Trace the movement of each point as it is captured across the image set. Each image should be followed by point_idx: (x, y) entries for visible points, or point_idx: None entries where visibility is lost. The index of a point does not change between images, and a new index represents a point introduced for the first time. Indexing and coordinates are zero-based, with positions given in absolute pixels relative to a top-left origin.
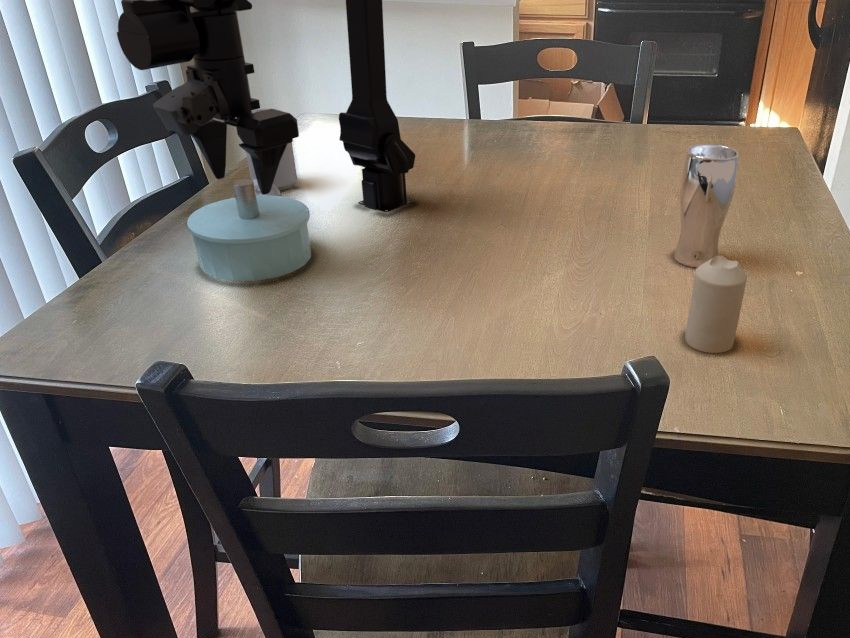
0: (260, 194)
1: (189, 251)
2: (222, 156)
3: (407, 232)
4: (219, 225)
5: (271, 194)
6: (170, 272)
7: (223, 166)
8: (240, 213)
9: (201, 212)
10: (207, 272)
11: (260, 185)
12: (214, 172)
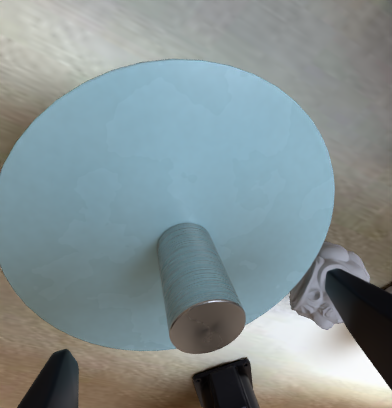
0: (309, 294)
1: (307, 97)
2: (384, 365)
3: (121, 380)
4: (168, 155)
5: (296, 307)
6: (245, 3)
7: (350, 326)
8: (179, 233)
9: (301, 153)
10: None
11: (34, 392)
12: (351, 284)
